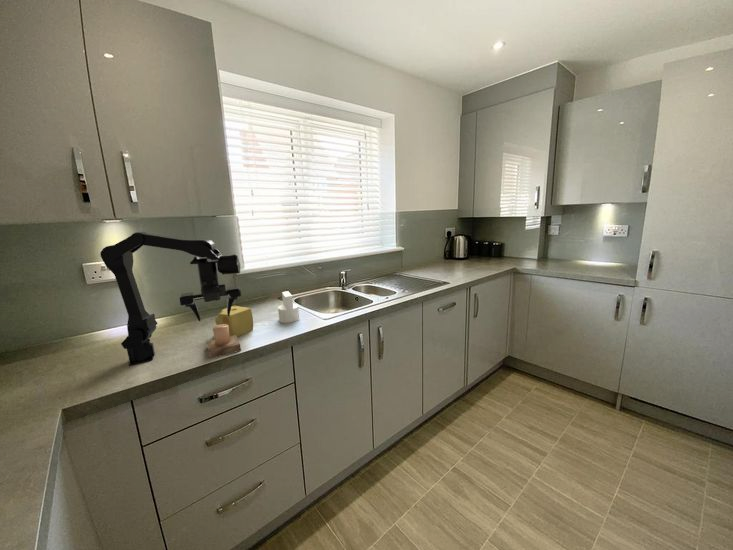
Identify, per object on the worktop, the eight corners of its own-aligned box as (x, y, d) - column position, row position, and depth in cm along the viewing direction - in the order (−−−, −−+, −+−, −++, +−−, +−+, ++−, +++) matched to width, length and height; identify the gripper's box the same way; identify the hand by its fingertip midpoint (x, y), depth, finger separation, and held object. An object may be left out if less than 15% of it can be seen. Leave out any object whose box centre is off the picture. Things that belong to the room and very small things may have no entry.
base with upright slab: (277, 317, 138) (275, 293, 135) (297, 314, 141) (294, 290, 139) (280, 324, 130) (278, 298, 127) (301, 320, 133) (299, 294, 131)
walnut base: (209, 358, 101) (208, 351, 100) (207, 347, 109) (206, 340, 109) (240, 350, 106) (239, 343, 105) (236, 340, 114) (235, 334, 114)
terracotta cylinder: (215, 346, 104) (213, 330, 102) (214, 341, 108) (212, 326, 107) (231, 342, 106) (228, 327, 105) (229, 338, 110) (227, 323, 109)
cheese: (216, 335, 120) (212, 312, 118) (238, 326, 130) (235, 304, 127) (233, 339, 115) (230, 315, 113) (255, 329, 125) (252, 307, 123)
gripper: (176, 284, 91) (183, 331, 94) (240, 276, 100) (245, 319, 104) (177, 277, 100) (184, 321, 104) (236, 271, 110) (241, 311, 113)
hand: (214, 318), depth 106 cm, fingers open, 9 cm apart
